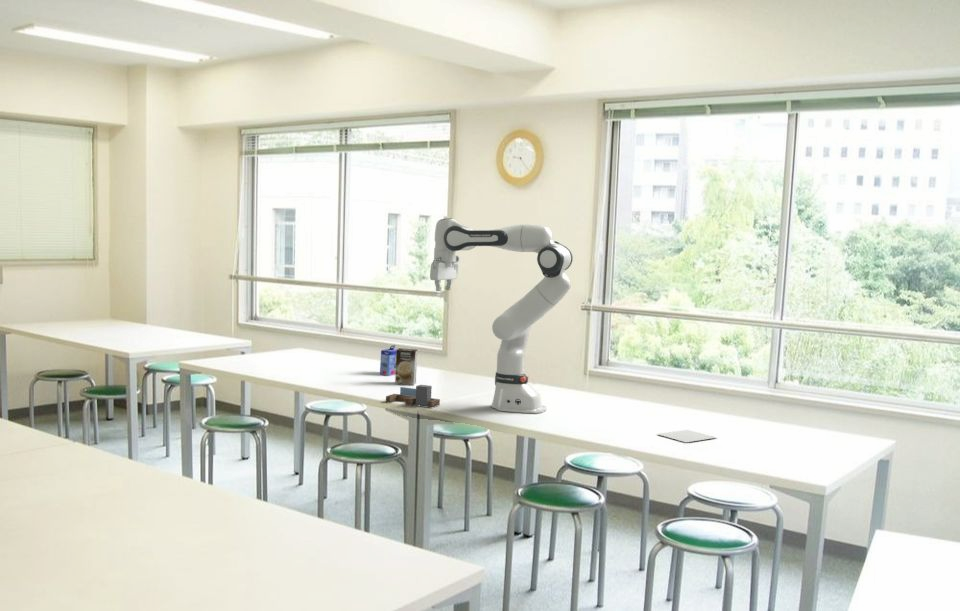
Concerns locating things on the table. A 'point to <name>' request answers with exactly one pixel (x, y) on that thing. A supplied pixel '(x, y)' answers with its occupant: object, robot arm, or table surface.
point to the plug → (423, 395)
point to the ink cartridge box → (388, 361)
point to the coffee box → (406, 366)
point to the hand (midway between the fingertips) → (443, 290)
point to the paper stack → (686, 435)
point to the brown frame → (409, 397)
